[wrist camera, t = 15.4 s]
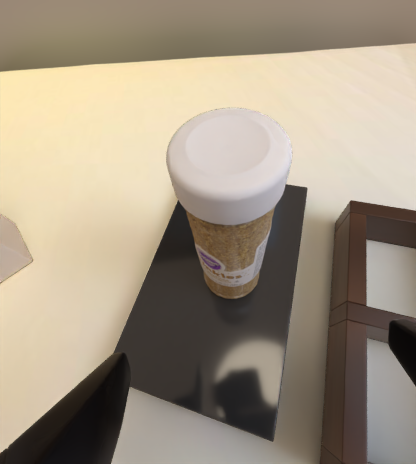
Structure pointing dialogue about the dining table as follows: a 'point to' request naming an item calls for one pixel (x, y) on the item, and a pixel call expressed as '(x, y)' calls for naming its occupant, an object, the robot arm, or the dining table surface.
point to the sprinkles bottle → (230, 191)
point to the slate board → (216, 326)
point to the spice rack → (356, 326)
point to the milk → (11, 249)
